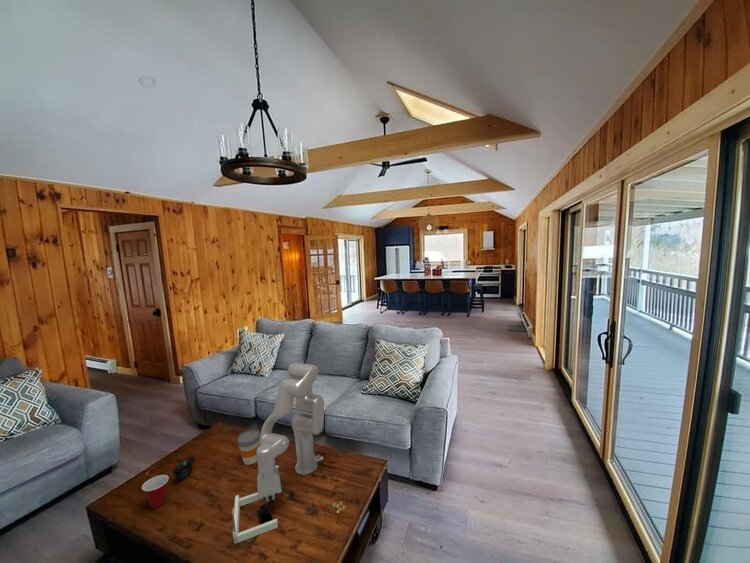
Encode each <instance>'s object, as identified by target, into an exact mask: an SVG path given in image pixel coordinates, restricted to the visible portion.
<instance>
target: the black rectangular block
mask: <svg viewBox="0 0 750 563" xmlns="http://www.w3.org/2000/svg"><path fill="white" fill-rule="evenodd" d="M256 515H257V519H258V522H259V525H261V524H264V523H266V522H269V521H272V520H274V518H273V515H272V513H271V509H270V506H268V504H267V503H263V504H262V505H259V509H258V510H256Z"/></svg>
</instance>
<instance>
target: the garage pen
mask: <svg viewBox="0 0 750 563" xmlns="http://www.w3.org/2000/svg"><path fill="white" fill-rule="evenodd" d="M269 496H270V497H271V496H272V495H269ZM257 501H259V500H258V491H257V492H254V493H251V494H249V495H246V496H243V497H240V495H239V494H237V495H235V497H234V507H232V512H231V521H232V537H233V538H232V539H233V544H234V545H235V544H238V543H241V542H243V541H247V540H249V539H251V538H253V537H257V536H259V535H261V534H264V533H268V532H270V531H272V530H275V529H277V528H279V526H278V518H275V519H274V518H273V520H272V521H269V522H266V523H264V524H261V525H260V524H259V525H258V524H257V525H256V526H253V527H251V528H248V529H245V530H242V531H240V529H239V528H240V526H239V525H240V509H241V508H240V507H242V506H246V505H247V504H251V503H253V502H257Z"/></svg>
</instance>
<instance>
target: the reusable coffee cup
mask: <svg viewBox="0 0 750 563" xmlns="http://www.w3.org/2000/svg"><path fill="white" fill-rule="evenodd" d="M260 435H261V432H260V431H259V429H254V428H253V429H248V430H245V431H244V432H241V433H240V434H239V435H238V436H237V446H238V451H239V455H240V456H241V458H242V462H243V464H244V465H246V466H247V465H249V466H250V465H253V464H255V463H258V462H257V454H256V451H257V449H258V447H259V446H260V444H259V441H260Z"/></svg>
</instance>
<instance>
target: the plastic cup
mask: <svg viewBox="0 0 750 563" xmlns="http://www.w3.org/2000/svg"><path fill="white" fill-rule="evenodd" d="M169 479H170V478H169V476H168V475H167V474H160V475H156V476H153V477H151V478H149V479H148V480H147V481H145V482H144V483H143V484H142V485H141V490H142V491H143V492H144V495H145V496H146V499H147V501H148V503H149V505H150V507H151V508H152V509H158V508H160V507H162V506H163V505H164V504H165V503H166V500H167V488H168V486H167V485H168V481H169Z"/></svg>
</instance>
